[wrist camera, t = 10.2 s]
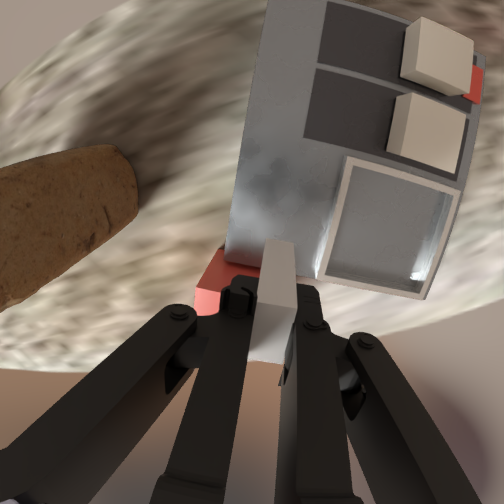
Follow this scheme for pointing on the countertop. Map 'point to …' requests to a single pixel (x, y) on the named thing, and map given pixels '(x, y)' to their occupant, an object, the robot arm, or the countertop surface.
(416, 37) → the toggle
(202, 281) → the coral toy cube
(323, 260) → the panel
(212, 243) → the countertop surface
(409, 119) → the toggle
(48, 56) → the countertop surface
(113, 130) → the countertop surface
